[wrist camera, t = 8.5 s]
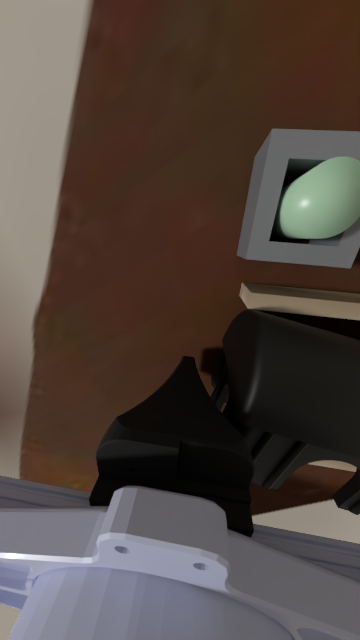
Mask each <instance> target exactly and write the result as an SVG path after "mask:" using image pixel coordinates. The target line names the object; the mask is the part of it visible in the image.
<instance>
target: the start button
mask: <svg viewBox="0 0 360 640" xmlns="http://www.w3.org/2000/svg"><path fill="white" fill-rule="evenodd" d="M359 217H360V161H359V160H357V159H355V158H352V157H346V156H342V157H335V158H331V159H328V160H326V161H324V162H322V163H321V164H319V165H317V166H316V167H314V168H313V169H311V170H310V171H308V172H307V173H305V174H304V175H302V176H301V177H299V178H298V179H296V180H295V181H293V182H292V183H290V184H289V185H287V186H285V187H284V188H282V190H281V194H280V198H279V202H278V206H277V210H276V214H275V219H274V223H273V227H272V231H271V234H272V235H274V236H275V237H277V238H280V239H322V238H329V237H332V236H335V235H338V234H340V233H342V232H343V231H345V230H346V229H348V228H349V227H350V226H351V225H352V224H353V223H355V221H356V220H357V219H358V218H359Z"/></svg>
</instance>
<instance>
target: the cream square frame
mask: <svg viewBox="0 0 360 640" xmlns="http://www.w3.org/2000/svg"><path fill="white" fill-rule="evenodd" d="M239 296H240V297H241V299H242V300H243V302H244V303H245V305H246V306H247V308H248V309H257V310H267V311H276V312H286V313H295V314H305V315H314V316H323V317H333V318H342V319H352V320H360V294H357V293H346V292H336V291H326V290H315V289H305V288H294V287H284V286H273V285H263V284H252V283H242V286H241V290H240V295H239ZM308 464H312V465H318V466H324V467H330V468H336V469H342V470H348V471H354V472H356V469H357V467H355V466H353V465H351V464H349V463H346V462H341V461H334V460H323V461H315V462H311V463H308Z"/></svg>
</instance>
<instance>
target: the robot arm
mask: <svg viewBox="0 0 360 640" xmlns="http://www.w3.org/2000/svg"><path fill="white" fill-rule="evenodd" d="M96 460H97V466H98V472H99V477H98V479H97V481H96V484H95V486H94V488H93V490H92V493H88V492H83V491H78V490H73V489H67V488H62V487H57V486H51V485H46V484H41V483H36V482H30V481H25V480H20V479H15V478H9V477H4V476H0V604H3V605H5V606H8V607H12V608H14V609H18V610H20V611H21V612H20V614H19V616H18V619H17V620H16V622H15V624H14V626H13V628H12V630H11V633H10V634H9V637H8V639H7V640H360V544H357V543H352V542H346V541H341V540H335V539H330V538H325V537H320V536H315V535H309V534H303V533H299V532H294V531H288V530H283V529H277V528H273V527H267V526H262V525H256V524H253V522H252V516H251V511H250V505H249V504H250V503H251V498H250V492H249V487H250V484H251V482H252V479H253V477H254V473H255V467H254V462H253V458H252V455H251V452H250V449H249V446H248V444H247V441H246V439H245V437H244V436H243V435H242V434H241V433H240V432H239V431H238V430H237V429H236V428H235V427H234V426H232V425H231V423H230V422H229V421H228V420H227V419H226V418H225V417H224V415H223V414H222V413H221V411H220V410H219V409H218V408H217V406H216V405H215V403H214V402H213V401H212V399H211V397H210V396H209V394H208V392H207V391H206V389H205V387H204V385H203V383H202V381H201V378H200V376H199V374H198V371H197V368H196V364H195V359H194V358H193V357H188V356H183V357H182V359H181V361H180V363H179V365H178V366H177V368H176V369H175V370H174V372H173V373H172V375H171V376H170V377H169V378H168V379H167V380H166V382H165V383H164V384H163V385H162V386H161V387H160V388H159V389H158V390H157V391H155V392H154V393H153V394H152V395H151V396H150V397H148V398H147V399H146V400H144V401H143V402H141V403H140V404H138V405H137V406H136V407H134V408H133V409H131V410H129V411H127V412H125V413H124V414H122V415H120V416H118V417H116V418H115V420H114V421H113V422H112V424H111V425H110V427H109V428H108V430H107V431H106V433H105V435H104V437H103V439H102V441H101V443H100V445H99V447H98V449H97V451H96Z"/></svg>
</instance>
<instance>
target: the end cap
mask: <svg viewBox="0 0 360 640" xmlns="http://www.w3.org/2000/svg"><path fill="white" fill-rule="evenodd" d="M222 342H223V347H224V348H223V350H222V352H221V355H220V357H219V359H218V362H217V364H216V367H215V369H214V371H213V374H212V378H211V381H212V385H213V387H214V388H215V389H214V391H213V393H212V396H211V399H212V401H213V402H214V403H215V405H216V406H217V408H218V409H219V410H221V408H222V405H223V403H224V402H225V403H227V405H226V407H225V409H224V411H223V413H222V414H223V415H224V417H225V418H226V419H227V420H228V421H229V422H230V423H231V425H232V426H234V427H235V428H236V429H237V430H238V431H239V432H240V433H241V434H242V435H243V436H244V437H245V439H246V441H247V444H248V446H249V449H250V452H251V455H252V458H253V462H254V467H255V473H254V477H253V479H252V482H251V483H254V484H258V485H261V486H263V487H265V488H266V489H271V488H272V489H275V490H278V489H279V487H280V486H281V485H282V484H283V483H284V482H285V481H286V480H287V478H288V477H289V476H290V475H291V474H292V473H293V472H294V471H295V470H296V469H298V468H299V467H301V466H303V465H305V464H308V463H311V462H315V461H323V460H334V461H341V462H346V463H349V464H351V465H353V466H355V467H357V469H356V473H355V475H354V476H353V477H352V478H351V479H350V480H349V481H348V482H347V483H346V484H345V485H344V486H342V487H341V488H340V489H339V490H338V491H337V492H336V493H334V494H333V495H332V497H333V499H334V501H335V502H336V505H337V506H338V508H341V509H345V510H349V511H350V512H352V513H354V514H356V515H358V514H360V340H358V339H355V338H351V337H347V336H344V335H340V334H337V333H333V332H330V331H326V330H323V329H319V328H316V327H312V326H309V325H305V324H302V323H298V322H295V321H291V320H288V319H284V318H281V317H277V316H274V315H270V314H267V313H263V312H260V311H256V310H251V309H248V310H245V311H243V312H241V313H240V314H238V315H237V316H236V317H235V319H234V320H233V321H232V323H231V324H230V326H229V327H228V329H227V331H226V333H225V335H224V337H223V340H222Z"/></svg>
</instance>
